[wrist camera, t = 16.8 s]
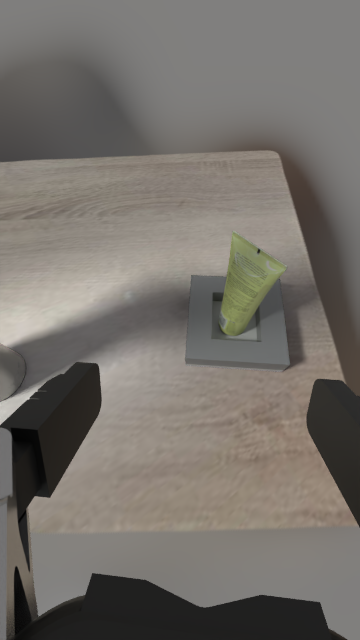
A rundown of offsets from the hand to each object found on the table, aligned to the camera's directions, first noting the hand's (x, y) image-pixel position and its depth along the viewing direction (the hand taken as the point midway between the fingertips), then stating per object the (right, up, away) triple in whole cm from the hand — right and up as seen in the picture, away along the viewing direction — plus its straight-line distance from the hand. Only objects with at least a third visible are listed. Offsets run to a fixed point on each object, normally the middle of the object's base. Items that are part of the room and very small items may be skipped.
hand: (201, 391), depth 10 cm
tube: (+9, +2, +36) cm, 37 cm away
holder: (+9, +2, +37) cm, 38 cm away
